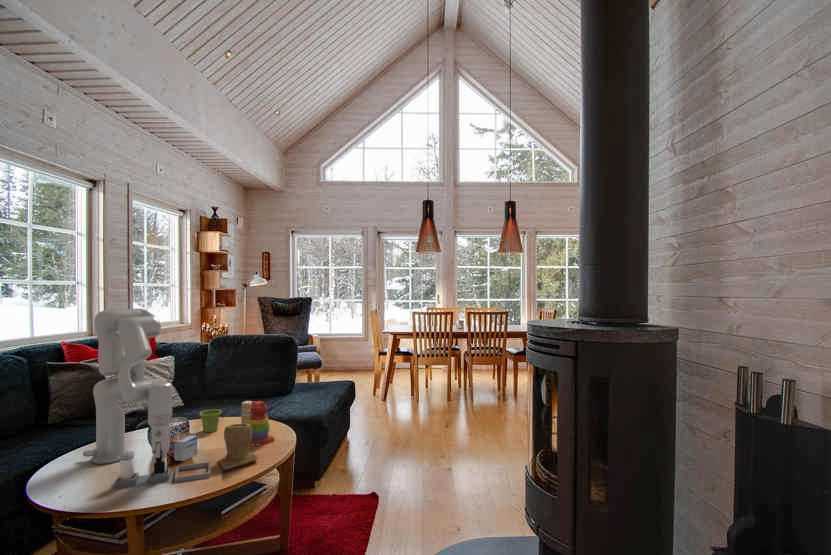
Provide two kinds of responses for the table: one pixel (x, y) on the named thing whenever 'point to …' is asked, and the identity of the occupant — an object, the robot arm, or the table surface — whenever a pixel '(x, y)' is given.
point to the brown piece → (237, 446)
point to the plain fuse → (127, 466)
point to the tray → (192, 477)
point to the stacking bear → (259, 423)
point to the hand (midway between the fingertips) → (160, 470)
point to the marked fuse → (165, 464)
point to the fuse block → (143, 480)
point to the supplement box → (246, 411)
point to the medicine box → (185, 448)
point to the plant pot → (210, 420)
